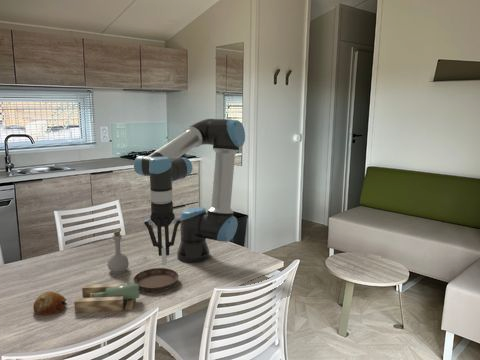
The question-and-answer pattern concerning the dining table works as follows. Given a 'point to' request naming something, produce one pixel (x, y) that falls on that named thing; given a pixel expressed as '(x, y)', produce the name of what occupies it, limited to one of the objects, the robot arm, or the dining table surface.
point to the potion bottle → (118, 257)
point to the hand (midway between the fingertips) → (164, 263)
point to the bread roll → (49, 303)
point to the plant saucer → (156, 279)
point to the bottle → (119, 292)
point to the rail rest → (101, 300)
